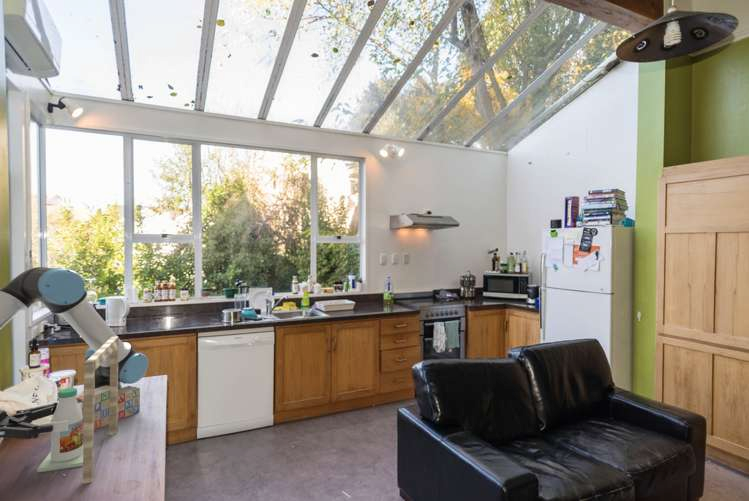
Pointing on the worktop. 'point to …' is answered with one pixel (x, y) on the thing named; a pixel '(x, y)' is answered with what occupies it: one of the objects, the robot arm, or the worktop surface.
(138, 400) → the stack of blocks
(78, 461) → the sage mat
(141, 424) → the worktop surface
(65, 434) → the milk bottle
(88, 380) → the door frame
